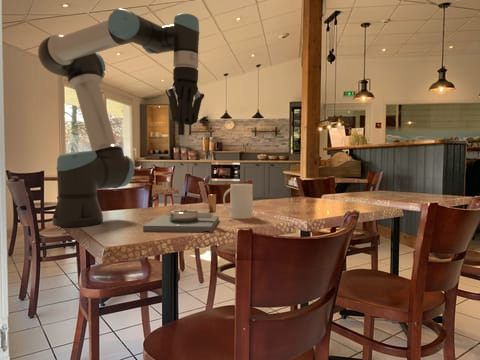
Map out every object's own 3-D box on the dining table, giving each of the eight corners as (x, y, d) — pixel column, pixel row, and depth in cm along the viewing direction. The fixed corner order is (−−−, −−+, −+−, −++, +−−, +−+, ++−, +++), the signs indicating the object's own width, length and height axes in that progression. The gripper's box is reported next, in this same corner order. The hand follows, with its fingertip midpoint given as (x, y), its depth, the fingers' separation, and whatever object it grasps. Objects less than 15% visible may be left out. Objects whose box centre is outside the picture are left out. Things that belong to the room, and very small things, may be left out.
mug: (227, 220, 126) (227, 185, 126) (217, 216, 134) (217, 184, 133) (257, 218, 132) (257, 184, 131) (246, 214, 139) (246, 183, 139)
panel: (143, 231, 107) (143, 225, 107) (161, 219, 127) (161, 214, 127) (211, 232, 106) (211, 226, 106) (218, 220, 126) (218, 215, 126)
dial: (166, 221, 112) (166, 195, 112) (173, 216, 121) (173, 192, 121) (213, 222, 112) (213, 196, 111) (217, 217, 121) (217, 193, 120)
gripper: (174, 62, 105) (172, 145, 107) (210, 70, 114) (208, 146, 115) (160, 66, 110) (159, 145, 112) (196, 73, 119) (194, 146, 121)
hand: (184, 145), depth 114 cm, fingers closed
